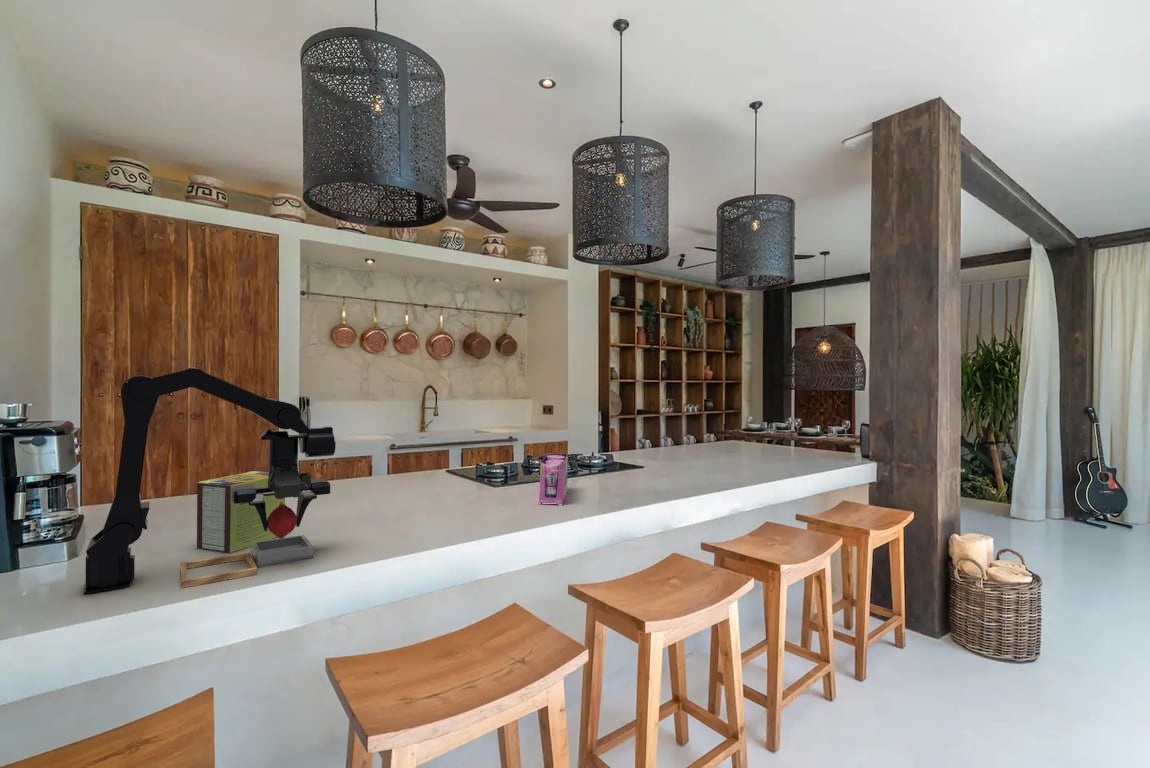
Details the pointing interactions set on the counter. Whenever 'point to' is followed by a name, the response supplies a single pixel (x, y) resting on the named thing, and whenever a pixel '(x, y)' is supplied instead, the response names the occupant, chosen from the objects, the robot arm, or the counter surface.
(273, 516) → the onion
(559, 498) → the gum box
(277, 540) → the dish
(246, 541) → the protein box
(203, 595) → the counter surface
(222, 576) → the brown wooden frame
